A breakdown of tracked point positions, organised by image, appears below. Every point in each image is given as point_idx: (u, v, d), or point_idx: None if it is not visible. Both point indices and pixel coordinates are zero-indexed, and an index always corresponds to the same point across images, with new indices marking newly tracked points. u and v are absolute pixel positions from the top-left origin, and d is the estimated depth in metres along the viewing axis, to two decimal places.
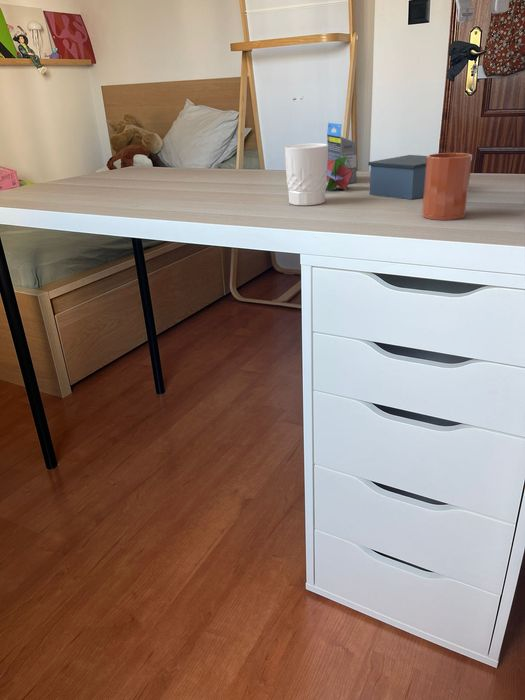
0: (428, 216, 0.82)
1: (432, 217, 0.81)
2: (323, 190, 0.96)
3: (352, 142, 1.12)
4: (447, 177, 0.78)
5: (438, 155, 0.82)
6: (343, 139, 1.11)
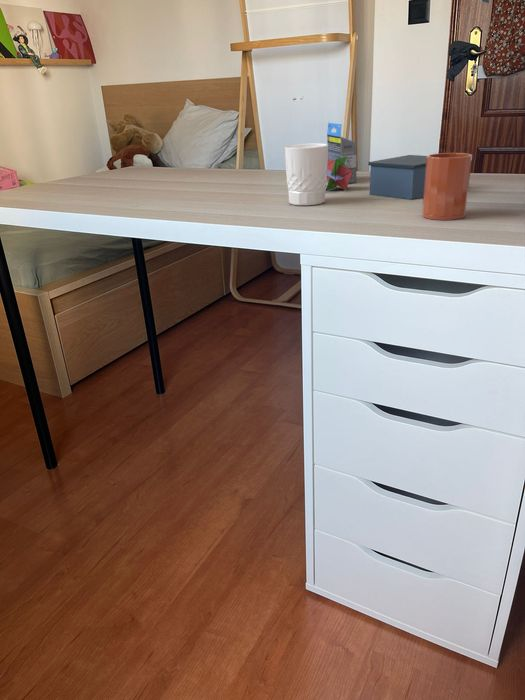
0: (428, 216, 0.82)
1: (432, 217, 0.81)
2: (323, 190, 0.96)
3: (352, 142, 1.12)
4: (447, 177, 0.78)
5: (438, 155, 0.82)
6: (343, 139, 1.11)
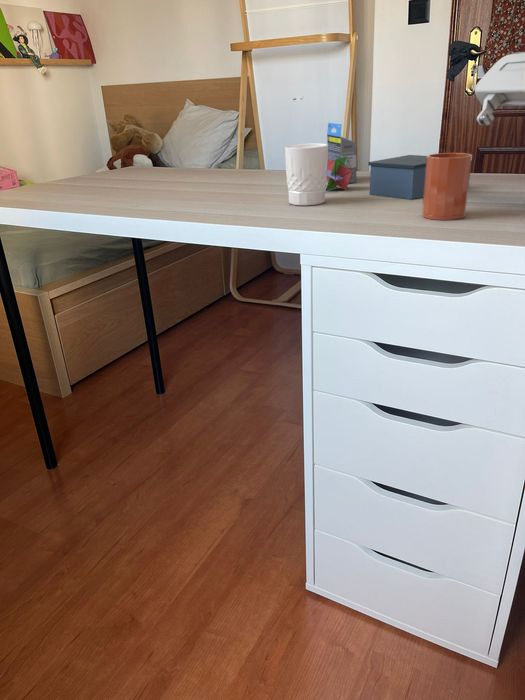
0: (428, 216, 0.82)
1: (432, 217, 0.81)
2: (323, 190, 0.96)
3: (352, 142, 1.12)
4: (447, 177, 0.78)
5: (438, 155, 0.82)
6: (343, 139, 1.11)
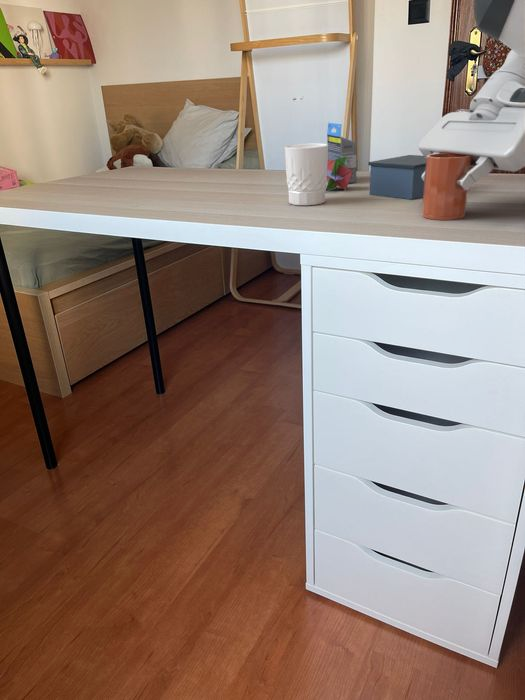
0: (428, 216, 0.82)
1: (432, 217, 0.81)
2: (323, 190, 0.96)
3: (352, 142, 1.12)
4: (447, 177, 0.78)
5: (438, 155, 0.82)
6: (343, 139, 1.11)
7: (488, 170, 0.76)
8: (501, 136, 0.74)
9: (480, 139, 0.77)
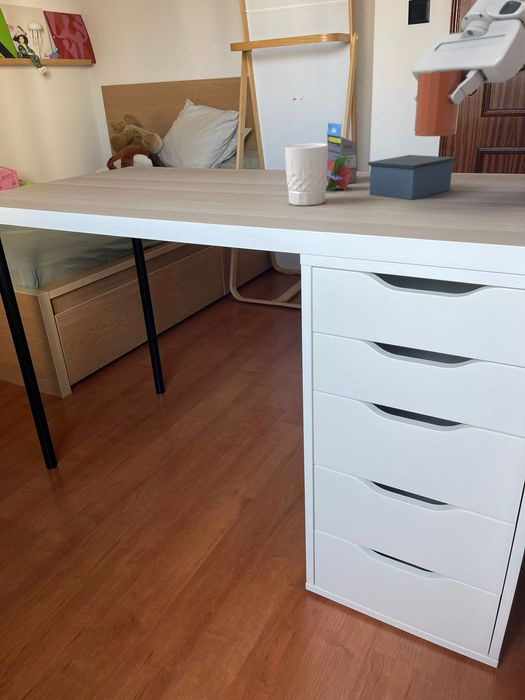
0: (420, 133, 0.84)
1: (424, 134, 0.83)
2: (323, 190, 0.96)
3: (352, 142, 1.12)
4: (438, 92, 0.80)
5: None
6: (343, 139, 1.11)
7: (478, 83, 0.78)
8: (490, 48, 0.76)
9: (471, 54, 0.79)
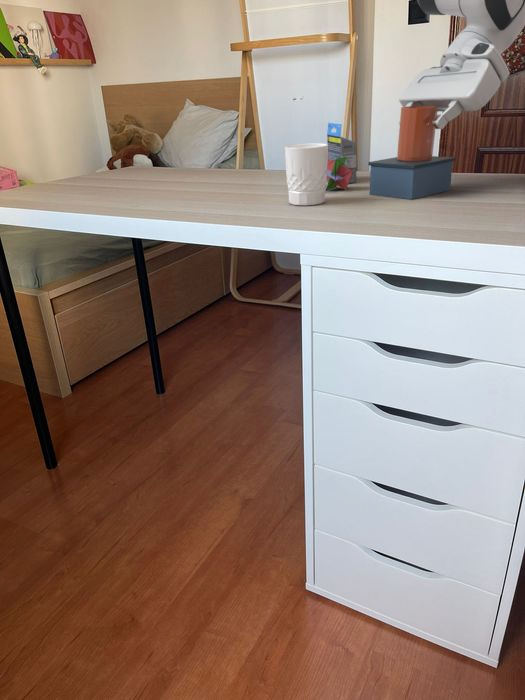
0: (400, 158, 0.99)
1: (403, 159, 0.99)
2: (323, 190, 0.96)
3: (352, 142, 1.12)
4: (415, 124, 0.95)
5: (412, 108, 0.99)
6: (343, 139, 1.11)
7: (458, 111, 0.92)
8: (464, 82, 0.90)
9: (448, 86, 0.93)
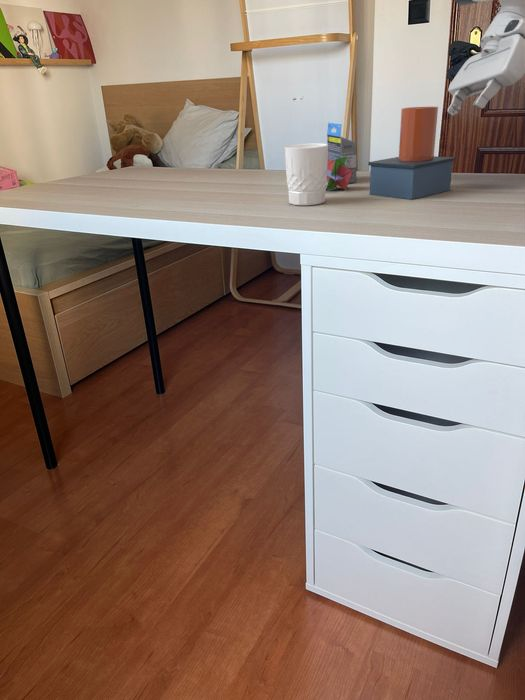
0: (401, 158, 0.99)
1: (404, 159, 0.99)
2: (323, 190, 0.96)
3: (352, 142, 1.12)
4: (414, 124, 0.95)
5: None
6: (343, 139, 1.11)
7: (497, 88, 0.95)
8: (499, 60, 0.94)
9: (486, 67, 0.97)
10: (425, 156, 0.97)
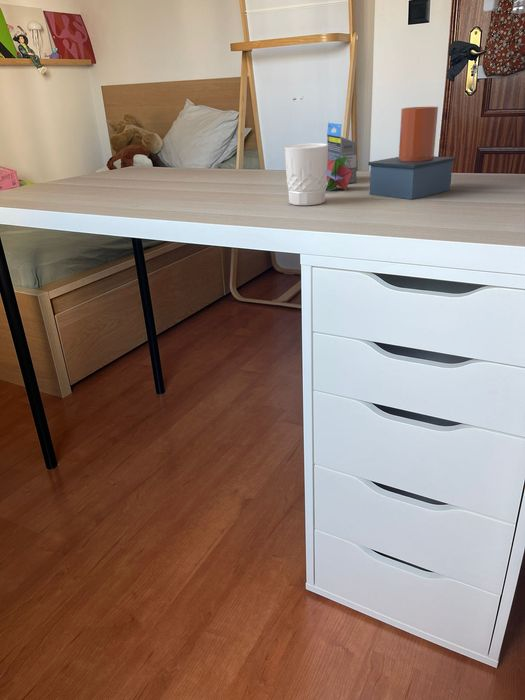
0: (401, 158, 0.99)
1: (404, 159, 0.99)
2: (323, 190, 0.96)
3: (352, 142, 1.12)
4: (414, 124, 0.95)
5: None
6: (343, 139, 1.11)
7: None
8: None
9: None
10: (425, 156, 0.97)
